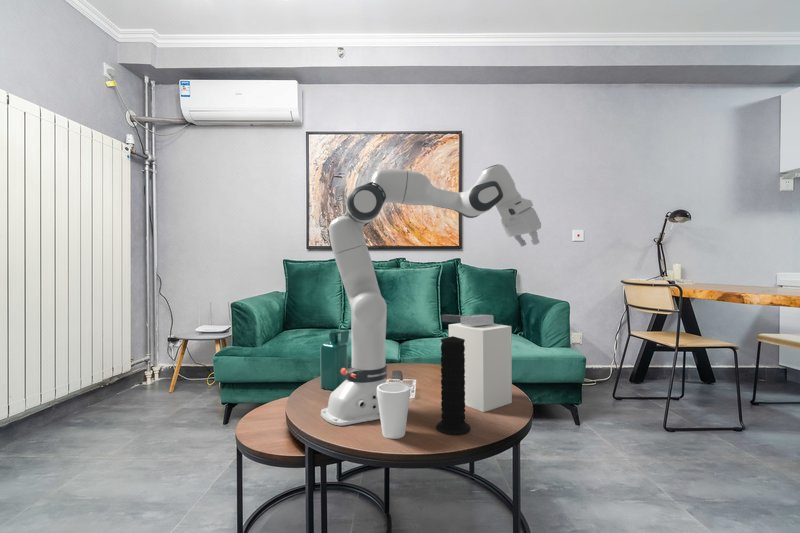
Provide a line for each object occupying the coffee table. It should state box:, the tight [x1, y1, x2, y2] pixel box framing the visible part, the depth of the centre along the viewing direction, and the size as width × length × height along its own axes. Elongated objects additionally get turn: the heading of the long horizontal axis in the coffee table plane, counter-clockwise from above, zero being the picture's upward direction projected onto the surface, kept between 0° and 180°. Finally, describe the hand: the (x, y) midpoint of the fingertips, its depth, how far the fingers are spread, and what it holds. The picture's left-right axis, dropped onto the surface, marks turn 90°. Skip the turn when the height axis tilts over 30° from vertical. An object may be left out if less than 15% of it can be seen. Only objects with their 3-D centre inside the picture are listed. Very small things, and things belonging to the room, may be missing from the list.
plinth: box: [448, 323, 513, 413], centre depth 136 cm, size 14×16×26 cm
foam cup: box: [377, 381, 411, 440], centre depth 110 cm, size 10×9×13 cm
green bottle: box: [319, 329, 350, 391], centre depth 152 cm, size 10×8×22 cm
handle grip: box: [435, 336, 472, 436], centre depth 113 cm, size 10×26×10 cm
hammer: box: [441, 314, 495, 327], centre depth 142 cm, size 10×20×3 cm, turn 36°
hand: (530, 244), depth 136 cm, fingers open, 8 cm apart
